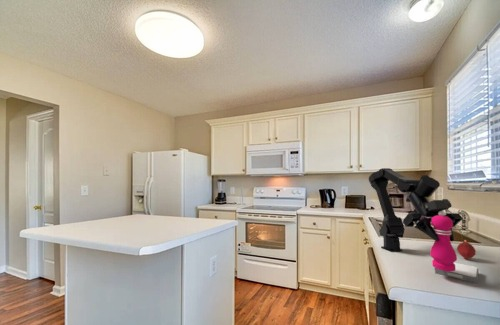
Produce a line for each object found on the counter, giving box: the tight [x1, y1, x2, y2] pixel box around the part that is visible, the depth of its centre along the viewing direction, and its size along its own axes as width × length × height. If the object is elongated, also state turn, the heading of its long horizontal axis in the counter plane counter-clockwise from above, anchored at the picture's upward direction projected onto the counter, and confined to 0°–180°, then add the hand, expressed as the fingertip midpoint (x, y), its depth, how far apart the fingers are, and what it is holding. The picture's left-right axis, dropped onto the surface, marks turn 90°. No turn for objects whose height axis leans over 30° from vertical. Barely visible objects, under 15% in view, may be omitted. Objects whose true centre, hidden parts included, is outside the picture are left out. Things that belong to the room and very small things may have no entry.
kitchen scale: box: [434, 262, 479, 284], centre depth 85 cm, size 11×11×2 cm
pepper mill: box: [429, 210, 458, 271], centre depth 82 cm, size 7×7×20 cm
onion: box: [456, 239, 477, 260], centre depth 100 cm, size 6×6×8 cm
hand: (445, 240), depth 81 cm, fingers closed on pepper mill, 5 cm apart
